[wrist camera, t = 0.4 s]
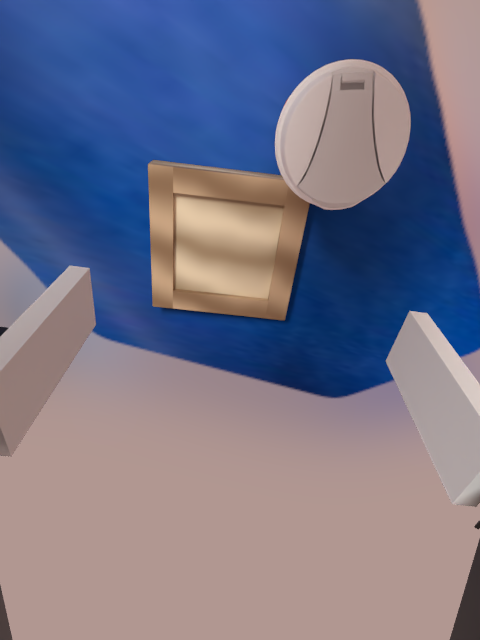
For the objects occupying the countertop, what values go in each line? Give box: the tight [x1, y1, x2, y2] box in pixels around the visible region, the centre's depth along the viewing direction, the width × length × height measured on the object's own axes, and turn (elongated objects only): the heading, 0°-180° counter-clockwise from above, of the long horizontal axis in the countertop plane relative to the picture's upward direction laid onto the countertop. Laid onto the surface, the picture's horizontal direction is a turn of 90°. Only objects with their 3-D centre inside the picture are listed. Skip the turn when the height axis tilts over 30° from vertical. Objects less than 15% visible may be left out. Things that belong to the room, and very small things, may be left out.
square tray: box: [148, 160, 310, 320], centre depth 40 cm, size 16×16×2 cm
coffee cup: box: [275, 59, 411, 210], centre depth 27 cm, size 8×8×15 cm
